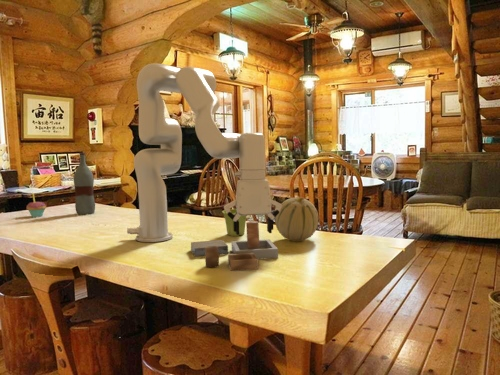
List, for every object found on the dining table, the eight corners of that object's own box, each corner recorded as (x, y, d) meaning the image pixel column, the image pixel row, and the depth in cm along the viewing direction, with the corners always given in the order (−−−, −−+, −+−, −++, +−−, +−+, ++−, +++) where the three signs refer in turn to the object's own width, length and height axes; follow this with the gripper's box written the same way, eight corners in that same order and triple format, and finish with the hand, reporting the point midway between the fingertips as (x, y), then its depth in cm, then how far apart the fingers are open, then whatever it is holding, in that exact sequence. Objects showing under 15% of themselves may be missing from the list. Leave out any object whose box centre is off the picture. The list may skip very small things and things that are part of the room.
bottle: (88, 215, 198) (84, 152, 194) (71, 214, 200) (67, 153, 197) (99, 212, 207) (96, 152, 204) (83, 211, 209) (79, 152, 206)
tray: (236, 260, 115) (236, 251, 115) (231, 250, 127) (231, 241, 127) (278, 258, 117) (277, 248, 117) (269, 247, 129) (269, 239, 129)
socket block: (231, 270, 106) (230, 261, 106) (228, 263, 113) (228, 254, 113) (257, 269, 107) (257, 259, 107) (253, 261, 114) (253, 252, 114)
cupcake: (41, 217, 193) (39, 192, 192) (23, 217, 194) (21, 192, 192) (50, 214, 202) (48, 190, 201) (33, 214, 202) (31, 190, 201)
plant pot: (245, 237, 144) (245, 213, 143) (219, 236, 146) (219, 212, 145) (251, 232, 153) (250, 209, 152) (226, 231, 155) (226, 208, 154)
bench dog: (205, 268, 109) (205, 249, 108) (205, 264, 112) (204, 246, 112) (219, 267, 109) (219, 248, 109) (218, 263, 113) (217, 245, 112)
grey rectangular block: (194, 258, 120) (194, 248, 120) (191, 251, 128) (190, 242, 127) (228, 255, 123) (227, 245, 122) (222, 249, 130) (222, 239, 130)
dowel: (248, 254, 120) (247, 224, 119) (246, 251, 124) (245, 221, 123) (260, 253, 121) (259, 223, 120) (258, 250, 124) (257, 220, 123)
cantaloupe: (290, 233, 149) (290, 192, 147) (326, 239, 140) (326, 195, 138) (266, 241, 138) (265, 197, 136) (303, 247, 128) (303, 200, 127)
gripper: (224, 177, 115) (225, 237, 117) (284, 175, 117) (285, 234, 119) (221, 175, 122) (223, 232, 124) (278, 173, 125) (279, 229, 127)
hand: (253, 233), depth 122 cm, fingers open, 9 cm apart
